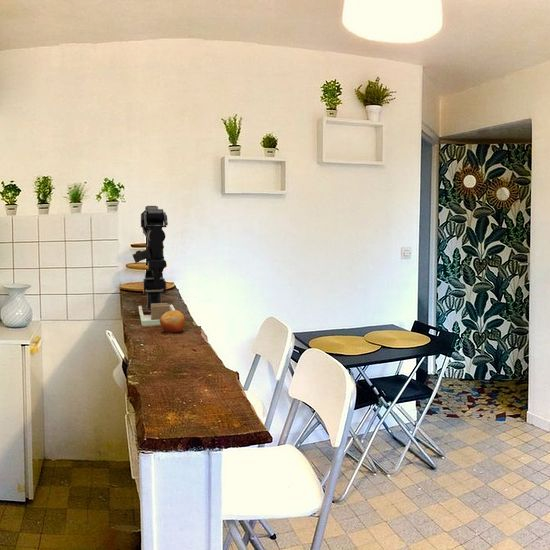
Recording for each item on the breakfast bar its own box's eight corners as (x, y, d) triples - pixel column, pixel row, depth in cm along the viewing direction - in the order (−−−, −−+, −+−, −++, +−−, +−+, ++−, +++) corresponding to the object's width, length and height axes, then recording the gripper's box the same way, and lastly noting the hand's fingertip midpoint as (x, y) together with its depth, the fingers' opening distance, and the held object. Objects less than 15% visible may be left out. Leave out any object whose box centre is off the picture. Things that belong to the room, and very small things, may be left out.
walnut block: (151, 320, 182) (150, 303, 181) (168, 319, 183) (168, 302, 183) (152, 323, 176) (151, 306, 175) (169, 322, 178) (169, 305, 177)
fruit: (189, 323, 173) (186, 306, 168) (184, 340, 167) (180, 322, 162) (166, 323, 174) (162, 305, 169) (160, 339, 168) (155, 321, 163)
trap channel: (138, 312, 201) (138, 306, 201) (172, 310, 205) (172, 304, 205) (142, 328, 173) (141, 321, 172) (180, 325, 177) (180, 319, 176)
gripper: (132, 241, 199) (133, 281, 201) (133, 244, 181) (135, 288, 183) (161, 241, 202) (162, 280, 204) (166, 243, 184) (166, 286, 186)
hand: (156, 283), depth 194 cm, fingers closed
